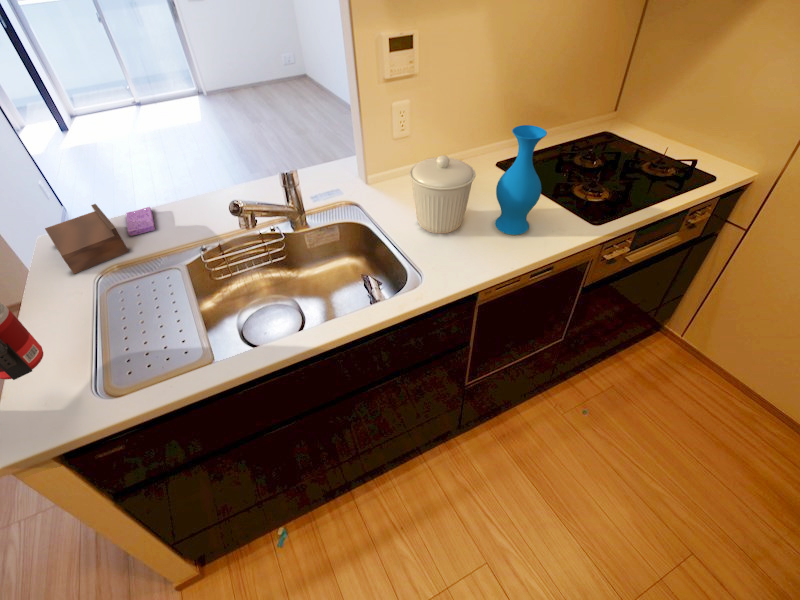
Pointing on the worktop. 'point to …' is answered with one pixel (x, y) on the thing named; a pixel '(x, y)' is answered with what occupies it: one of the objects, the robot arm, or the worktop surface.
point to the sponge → (140, 221)
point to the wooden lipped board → (87, 240)
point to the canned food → (18, 340)
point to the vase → (519, 183)
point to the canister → (441, 192)
